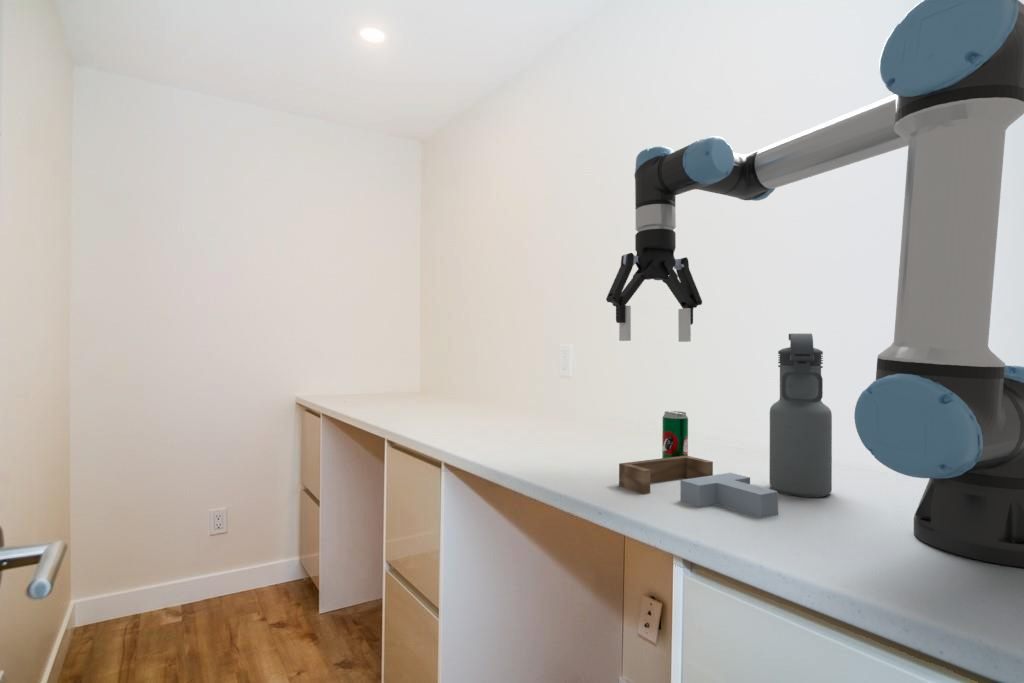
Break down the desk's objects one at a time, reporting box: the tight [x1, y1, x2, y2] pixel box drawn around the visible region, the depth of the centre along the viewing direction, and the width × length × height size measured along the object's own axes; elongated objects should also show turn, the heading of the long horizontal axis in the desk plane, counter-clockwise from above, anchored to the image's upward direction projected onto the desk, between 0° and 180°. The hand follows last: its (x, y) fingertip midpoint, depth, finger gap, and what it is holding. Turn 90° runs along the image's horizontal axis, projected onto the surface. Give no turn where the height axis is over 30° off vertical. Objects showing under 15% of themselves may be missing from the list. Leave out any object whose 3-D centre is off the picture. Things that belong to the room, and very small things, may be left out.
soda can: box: [661, 410, 689, 458], centre depth 111 cm, size 5×5×12 cm
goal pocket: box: [618, 455, 714, 495], centre depth 100 cm, size 6×17×4 cm, turn 118°
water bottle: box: [769, 333, 833, 498], centre depth 96 cm, size 10×10×28 cm
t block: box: [679, 472, 779, 519], centre depth 86 cm, size 12×12×4 cm
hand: (655, 341), depth 104 cm, fingers open, 13 cm apart
